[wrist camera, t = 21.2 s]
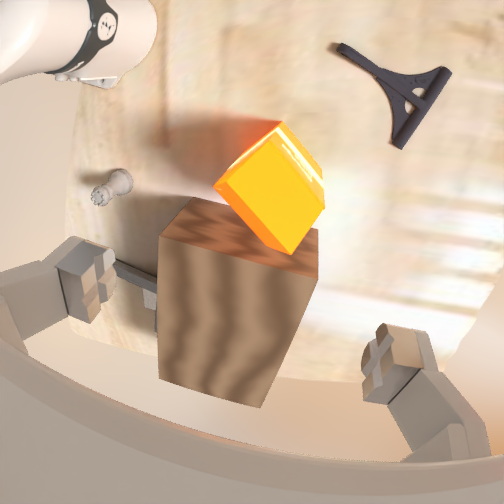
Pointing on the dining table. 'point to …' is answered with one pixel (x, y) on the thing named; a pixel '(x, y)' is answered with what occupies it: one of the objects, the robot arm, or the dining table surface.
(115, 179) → the rook chess piece
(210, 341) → the low cabinet
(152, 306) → the block
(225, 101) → the dining table surface
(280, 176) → the orange juice
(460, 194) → the dining table surface
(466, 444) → the robot arm
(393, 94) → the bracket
